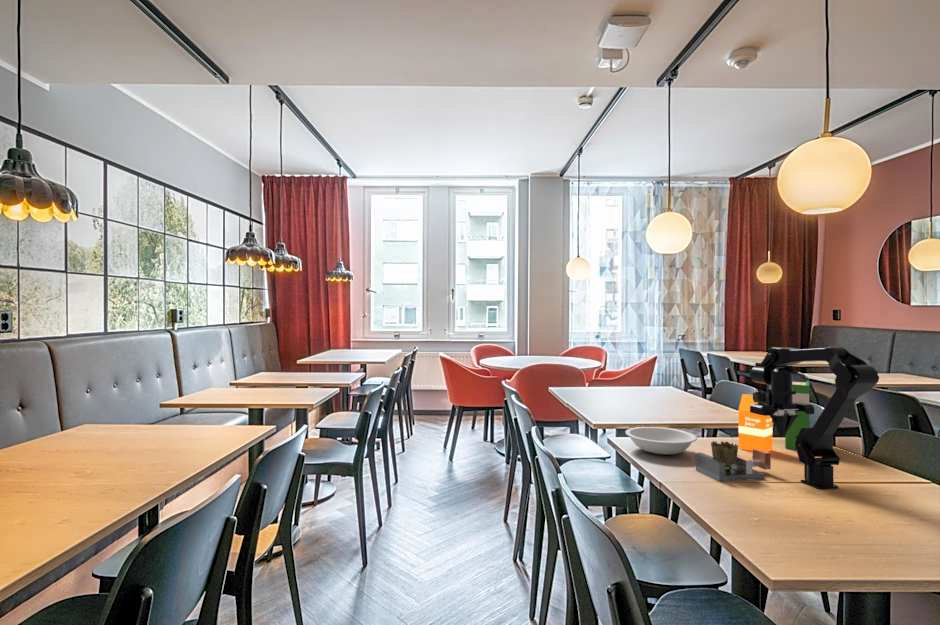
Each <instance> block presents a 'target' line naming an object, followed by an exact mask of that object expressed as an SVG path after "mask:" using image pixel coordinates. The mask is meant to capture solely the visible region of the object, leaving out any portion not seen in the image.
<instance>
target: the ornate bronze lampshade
mask: <svg viewBox="0 0 940 625" xmlns="http://www.w3.org/2000/svg"><path fill="white" fill-rule="evenodd" d="M710 445H711V447H710V448H711V453H712V457H713V458H716V459H718V460H720V461H723V462H725V471H730V470H731V465H733V464H735V462H736V459H737V455H738V451H739V444H736V443H735V444H734V443H733V442H731V443H730V442H728V441H721V442H720V443H718V442H717V441H714V440H713V441H712V442H711V441H710Z"/></svg>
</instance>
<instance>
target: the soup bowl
mask: <svg viewBox="0 0 940 625" xmlns="http://www.w3.org/2000/svg"><path fill="white" fill-rule="evenodd" d="M624 433H625V435H626V436H628V437H630V439H631V440H632V442H633V444H635V446H636V447H638V448H639V449H641V450H642V451H645V452H647V453H652V454H656V455H676V454H680V453H682V452H684V451H686V450H687V449H688V448H689V447H691V445H692V443H694V442H696V441H697V439H698V437H697V436H696V435H695V434H693V433H691V432H689V431H686V430H680V429H675V428H670V427H661V426H660V427H657V426H639V427H638V426H637V427H636V426H635V427H631V428H628V429H626V430H625V432H624Z"/></svg>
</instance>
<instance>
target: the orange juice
mask: <svg viewBox="0 0 940 625" xmlns="http://www.w3.org/2000/svg"><path fill="white" fill-rule="evenodd" d="M752 404H758V403H755V402H754V401H753V394H745V393H742V396H741V399H740V402H739V406H738V449H739V448H740V449H739V450H742V449H746V450H745V451H747V450H752V451H753V449H760V450H763V451H766V452H769V451H770V452H772V451H773V419H772V418H771V417H770V416H763V415H758V414H754V413H751V412H750V406H751V405H752ZM771 450H772V451H771ZM752 451H751V452H752ZM770 452H769V453H770Z"/></svg>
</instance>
